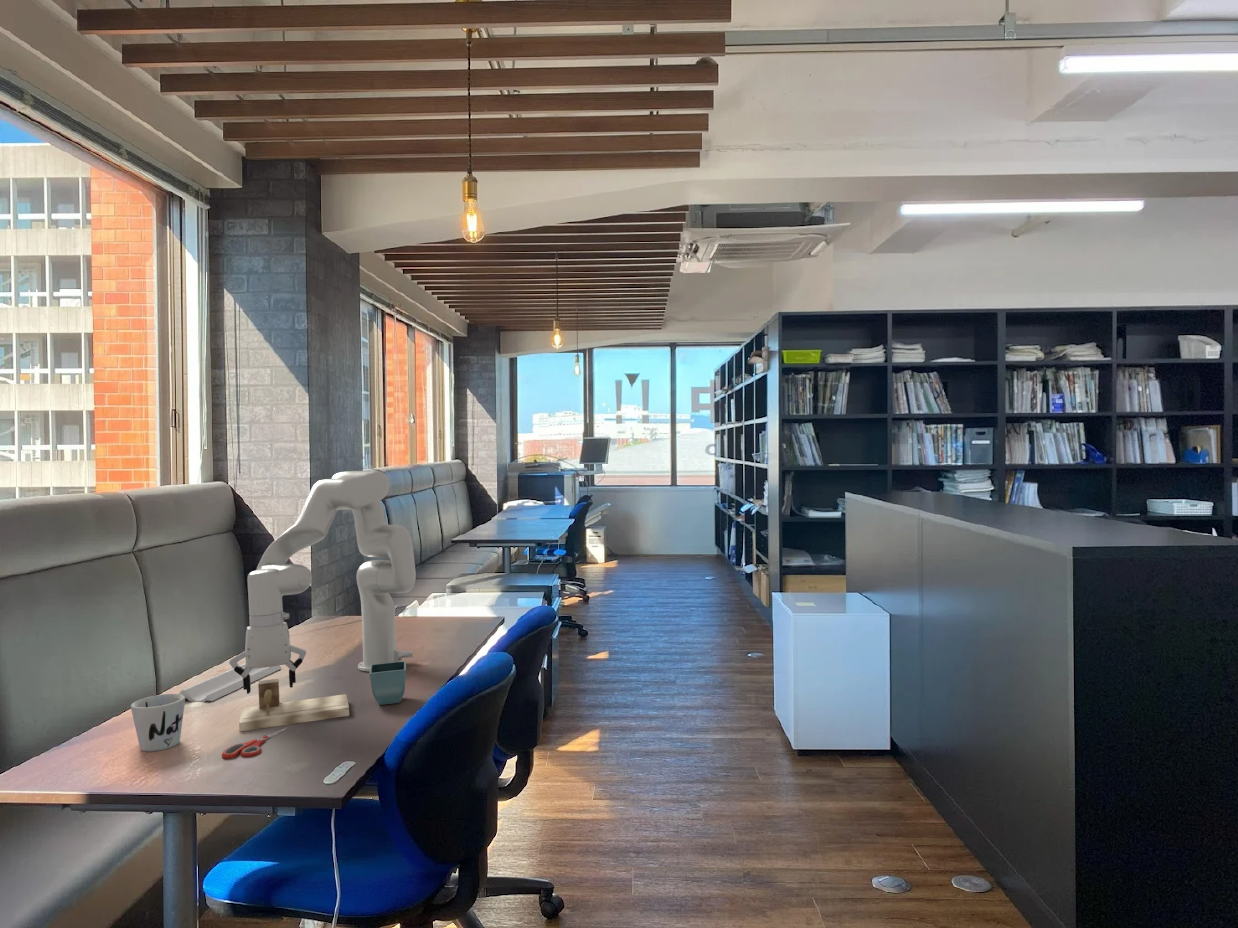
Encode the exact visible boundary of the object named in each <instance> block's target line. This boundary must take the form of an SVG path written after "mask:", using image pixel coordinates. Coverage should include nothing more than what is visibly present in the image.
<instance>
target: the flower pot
mask: <svg viewBox="0 0 1238 928" xmlns="http://www.w3.org/2000/svg"><path fill="white" fill-rule="evenodd" d="M406 662H407V661H405V660H402V661H400V662H391V663H382V664H373V665H370V672H369V673H368V674H369V680H370V681H369V682H370V687H371V691H372V695H373V697H374V700H375V701H376V703H377V704H378V705H379V706H383V705H392V704H399V703H401V702H402V699H403V697H404V694H405V690H406V681H407V679H406V678H407V666H406V665H407V663H406Z"/></svg>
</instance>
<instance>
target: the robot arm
mask: <svg viewBox="0 0 1238 928" xmlns="http://www.w3.org/2000/svg"><path fill="white" fill-rule="evenodd" d="M390 486H391V485H390V480H389V478H388V476H387V475H386V474H385V473H384V472H383V471H380V470H349V471H348V470H347V471H339V472H337V473H335V474H333V476H332V477H331V478H327V479H325V478H323V479H321V480H320V479H319V480H318V481H317V482H315V483H314V484H313V485H312V487H311V489H310V490H309V493H308V495H307V497H306V499H305V502H304V503H303V505H302V507H301V509H300V512H299V513H298V516H297V518H296V520H295V522H294V523H293V525H292V526H290V527H289V528H288V529H287V530H285V531H284V532H283V533H281V534H280V535H279V536H278V537H277V538H276V539H275V540H274V541H272V542H271V543H270V544H269V545H268V547H267V548H266V550H265V551H264V552H263V554H262V556H261V558H260V560H259V562H258V564H257V566H256V569H255V570H253V571H250V572H249V573H248V574H247V593H248V594H247V595H248V614H249V616H248V617H249V626H247V627H246V632H245V650H243V652H241V653H239V654H236V656H234V657H232V658H230V660H229V662H228V663H229V665H230V666H231V669H232V668H233V669H234V671H235V672H236V673H238V674H239V675H241V677H242V678H243V687H242V688H243V690H246V694H247V695H248V694H250V693H251V689H252V687H251V686H252V685H251V683H250V675H249V672H250V671H251V670H252V669H257V668H265V667H266V668H268V667H272V666H286V667H287V668H288V679H289V680H288V681H289V688H293V687H294V684H295V683H297V679H296V670H297V669H298V667H300V665H301V664H302V663H303V661H304V659H305V657H306V655H307V650H306V649H304V648H301V647H297V646H295V645H291V640H290V639H291V637H290V632H289V627H288V623H287V622H286V621H285V620H287V619H290V613H289V612H285V611H284V608H283V596H288V595H298V594H301V593H303V592H306V590H307V589H309V587H310V586H311V584H312V581H313V576H312V575H313V574H312V572H311V570H310V569H309V568H308V567H307V566H305V565H302V564H299V563H296V564H295V563H287V562H288V560H289V559H290V558H291V557H292V556H293V555H295V554H297V553H298V552H300V551H301V550H304V549H307V548H309V547H311V546H313V545H315V544H317V543H319V542H320V541H323V540H324V539H325V538H326V536H327V534H328V532H329V530H330V527H331V525H332V523H333V521H334V519H335V517H336V515H337V512H338V511H340V510H341V511H346V510H347V511H348V510H351V512H352V515H353V520H354V527H355V528H354V529H355V536H356V541H357V547H358V551H359V553H360V554H361V555H362V556H364V557H369V558H389V559H388V560H386V559H383V560H382V559H381V560H379V559H375V560H374V559H373V560H372V559H371V560H367V561H366V562H363V563H362V564H361V565H360V566H359V567H358V569H357V572H356V584H357V588H358V593H359V598H360V606H361V609H360V610H361V636H362V637H361V638H362V661H360V662H359V663H358V664H357V669H358V670H359V671H362V672H369V673H370V665H373V664H382V663H391V662H400V661H403V659H407V658H413V650H398V648H397V644H396V643H397V637H396V609H395V608H396V607H395V603H394V600H393V598H392V596H391V594H406V593H409V592H410V591H411V590H413V588H414V586H415V584H416V579H417V578H416V576H417V574H416V573H417V572H416V571H417V570H416V564H415V563H416V562H415V555H414V544H413V540H412V536H411V534H410V532H409V530H408V528H406V527H405V526H403V525H400V524H387V522H386V517H385V512H384V507H383V504H382V502H381V501H382V500H383V499H384V498H386V497H387V494H388V493H389V490H390ZM292 653H293V654H297V655H298V657H297V659H296V660H295V661H292V659H291V658H292ZM244 658H245V663H246V668H245V669H243V668H242V667H240V665H239V663H238V662H240V661H242V660H243V659H244Z"/></svg>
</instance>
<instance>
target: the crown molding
mask: <svg viewBox="0 0 1238 928" xmlns="http://www.w3.org/2000/svg"><path fill="white" fill-rule="evenodd" d="M239 666H240V667H242V668H243V669H245V668H246V662H244V663H242V664H240V665H239ZM281 669H282V665H280V666H272V667H265V668H257V669H252V670H251V671H250V672H249V675H250V684H252V683H254V682H256V681H258V680H261V679H262V678H265V677H267V676H269V675H271V674H273V673H275V672H277V671H279V670H281ZM241 688H243V678H242V677H241V675H239V674H238V673H236V672H235V671H234V669H233V668H232V667H231V669H228V670H227V671H223V672H221V673H219V674H216V675H214V676H212V677H209V678H207V679H204V680H202V681H200V682H197V683H196V684H193V685H191V686H188V687H186V688H184V689H181V690H180V692H179V693H178V694H181V695H184V696H185V700H188V701H189V702H190V703H193V702H194V703H205V702H213V701H216V700H218V699H220V698H223V697H224V696H227V695H229V694H231V693H233V692H235V691H237V690H239V689H241Z"/></svg>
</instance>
